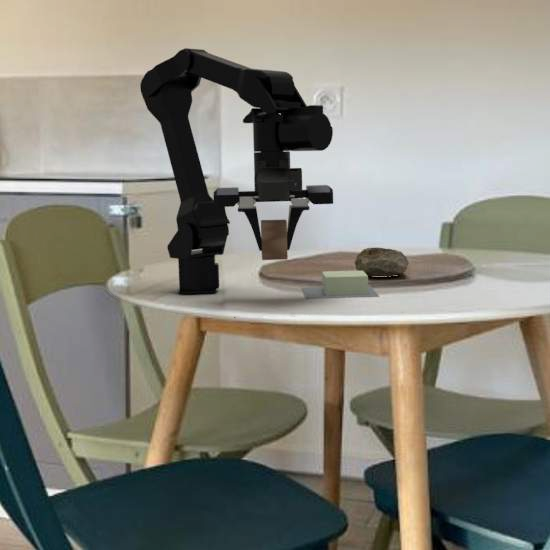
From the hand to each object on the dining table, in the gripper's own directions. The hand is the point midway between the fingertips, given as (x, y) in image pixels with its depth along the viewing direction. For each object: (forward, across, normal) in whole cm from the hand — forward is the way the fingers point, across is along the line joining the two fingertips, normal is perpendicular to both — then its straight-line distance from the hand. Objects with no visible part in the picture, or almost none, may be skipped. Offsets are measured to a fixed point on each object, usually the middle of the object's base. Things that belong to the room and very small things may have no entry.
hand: (274, 250), depth 149 cm
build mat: (+8, +11, +6) cm, 15 cm away
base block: (+8, +12, +6) cm, 16 cm away
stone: (+9, +21, +24) cm, 33 cm away
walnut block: (+1, 0, 0) cm, 1 cm away
